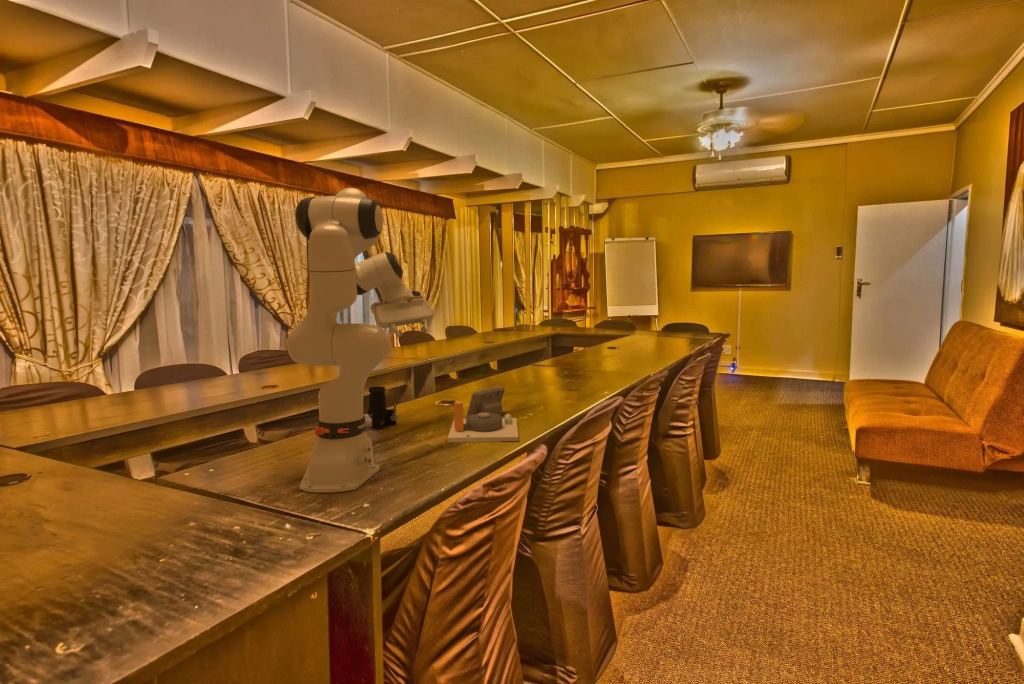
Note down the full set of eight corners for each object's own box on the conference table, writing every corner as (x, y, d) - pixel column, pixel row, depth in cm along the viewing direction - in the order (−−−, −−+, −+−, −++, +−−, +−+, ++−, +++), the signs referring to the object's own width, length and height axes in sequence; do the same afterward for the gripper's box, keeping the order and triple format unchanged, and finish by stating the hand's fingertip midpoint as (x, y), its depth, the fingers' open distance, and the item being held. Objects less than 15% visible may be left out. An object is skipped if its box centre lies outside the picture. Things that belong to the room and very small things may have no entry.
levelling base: (518, 441, 170) (518, 429, 169) (447, 442, 169) (447, 430, 169) (516, 422, 194) (516, 411, 193) (454, 422, 193) (454, 411, 193)
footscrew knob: (492, 420, 189) (492, 394, 188) (508, 428, 179) (508, 401, 178) (449, 425, 182) (449, 399, 181) (463, 434, 172) (462, 406, 171)
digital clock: (497, 411, 211) (497, 384, 210) (511, 415, 203) (511, 387, 202) (461, 417, 201) (460, 389, 200) (474, 422, 194) (474, 392, 193)
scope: (397, 385, 189) (380, 390, 180) (398, 424, 191) (381, 431, 182) (377, 384, 192) (360, 389, 183) (379, 422, 194) (361, 429, 185)
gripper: (371, 298, 176) (386, 333, 172) (426, 291, 189) (442, 324, 184) (366, 309, 181) (381, 344, 176) (420, 301, 193) (435, 334, 189)
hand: (412, 334), depth 180 cm, fingers open, 8 cm apart
